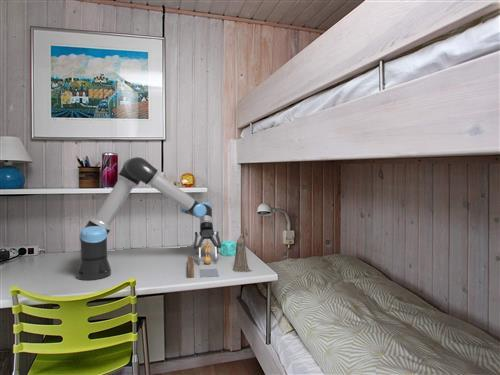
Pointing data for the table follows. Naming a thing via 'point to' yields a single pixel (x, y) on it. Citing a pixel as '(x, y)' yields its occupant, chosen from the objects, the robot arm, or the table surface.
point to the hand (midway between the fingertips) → (208, 258)
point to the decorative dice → (228, 248)
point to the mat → (208, 273)
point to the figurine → (207, 259)
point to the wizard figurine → (241, 254)
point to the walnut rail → (190, 267)
